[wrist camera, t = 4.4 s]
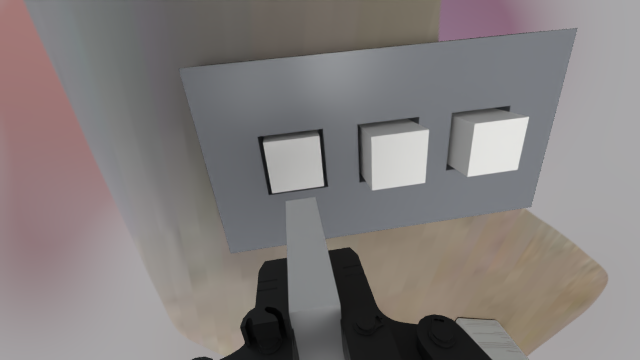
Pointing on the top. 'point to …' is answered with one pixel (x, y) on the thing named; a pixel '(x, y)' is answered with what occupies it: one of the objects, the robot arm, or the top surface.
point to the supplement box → (492, 339)
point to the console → (367, 107)
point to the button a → (294, 160)
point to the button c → (486, 141)
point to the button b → (392, 153)
